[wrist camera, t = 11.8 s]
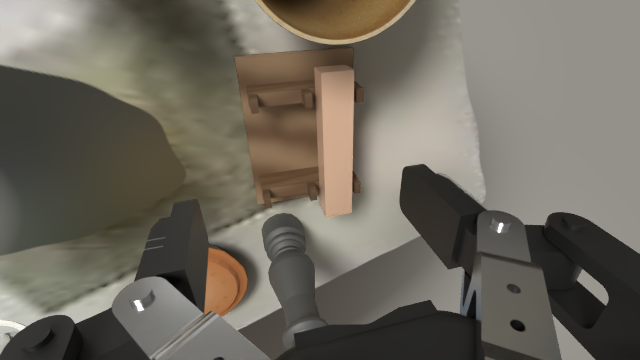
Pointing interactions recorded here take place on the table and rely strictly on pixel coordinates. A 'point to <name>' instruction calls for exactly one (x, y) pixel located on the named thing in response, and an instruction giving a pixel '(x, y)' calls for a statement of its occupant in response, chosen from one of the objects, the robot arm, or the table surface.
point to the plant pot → (335, 18)
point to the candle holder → (291, 275)
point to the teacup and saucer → (1, 338)
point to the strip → (335, 137)
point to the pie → (223, 282)
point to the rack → (286, 120)
